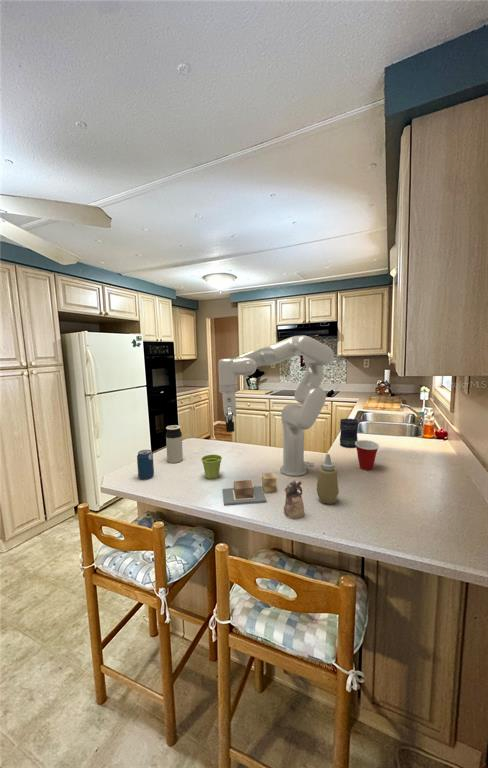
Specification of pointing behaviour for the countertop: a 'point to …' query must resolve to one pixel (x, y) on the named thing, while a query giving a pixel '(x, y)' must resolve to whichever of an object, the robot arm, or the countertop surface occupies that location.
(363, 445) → the plastic cup
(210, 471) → the plant pot
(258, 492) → the slate mat
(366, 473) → the countertop surface
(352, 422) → the storage jar
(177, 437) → the travel mug
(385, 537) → the countertop surface
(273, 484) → the oak cube
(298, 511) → the figurine
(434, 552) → the countertop surface
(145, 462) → the soda can
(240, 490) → the walnut base
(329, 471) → the squeeze bottle
